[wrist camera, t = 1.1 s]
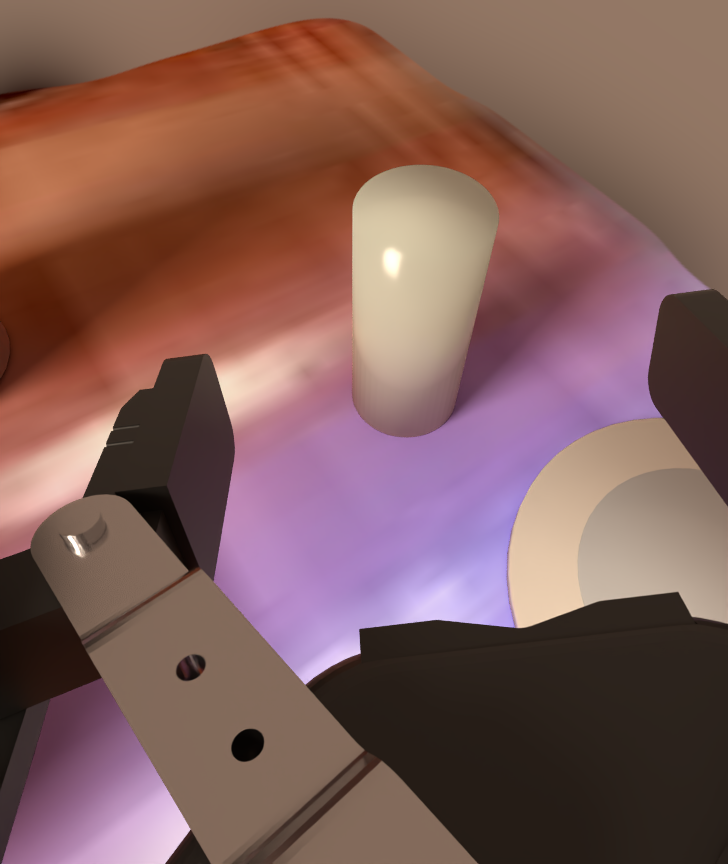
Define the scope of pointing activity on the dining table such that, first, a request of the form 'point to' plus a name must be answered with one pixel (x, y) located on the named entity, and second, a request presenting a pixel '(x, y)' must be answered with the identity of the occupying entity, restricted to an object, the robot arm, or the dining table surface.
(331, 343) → the dining table surface
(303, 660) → the dining table surface
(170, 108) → the dining table surface
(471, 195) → the white tapered cylinder
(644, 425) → the dish
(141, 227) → the dining table surface
